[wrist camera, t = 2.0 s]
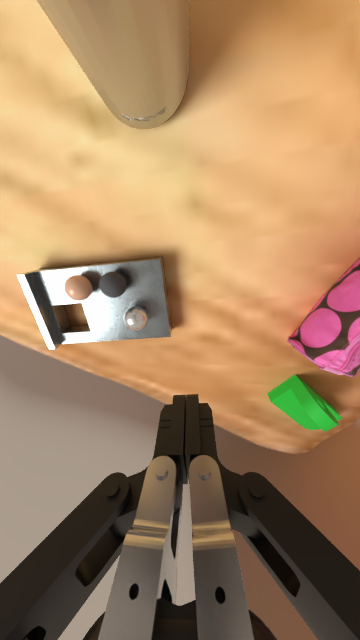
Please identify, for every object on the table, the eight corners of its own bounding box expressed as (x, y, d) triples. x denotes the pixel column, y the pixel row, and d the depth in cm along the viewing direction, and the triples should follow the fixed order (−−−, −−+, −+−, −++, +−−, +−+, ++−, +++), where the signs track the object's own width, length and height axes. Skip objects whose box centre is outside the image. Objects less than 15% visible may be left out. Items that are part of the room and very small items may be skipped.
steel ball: (125, 303, 27) (117, 312, 24) (148, 301, 27) (143, 310, 24) (130, 324, 29) (123, 335, 26) (151, 323, 28) (147, 333, 25)
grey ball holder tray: (38, 269, 28) (16, 275, 25) (162, 256, 27) (158, 260, 23) (64, 336, 33) (48, 349, 29) (171, 328, 31) (169, 341, 28)
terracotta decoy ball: (69, 273, 26) (54, 279, 23) (93, 271, 26) (80, 276, 23) (77, 297, 27) (63, 305, 24) (99, 295, 27) (88, 303, 24)
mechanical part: (266, 392, 36) (286, 433, 29) (294, 373, 34) (323, 412, 27) (306, 424, 39) (333, 469, 32) (334, 408, 37) (370, 452, 30)
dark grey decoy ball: (102, 270, 26) (91, 275, 23) (126, 268, 25) (118, 273, 22) (108, 294, 27) (98, 302, 24) (131, 292, 27) (124, 300, 24)
